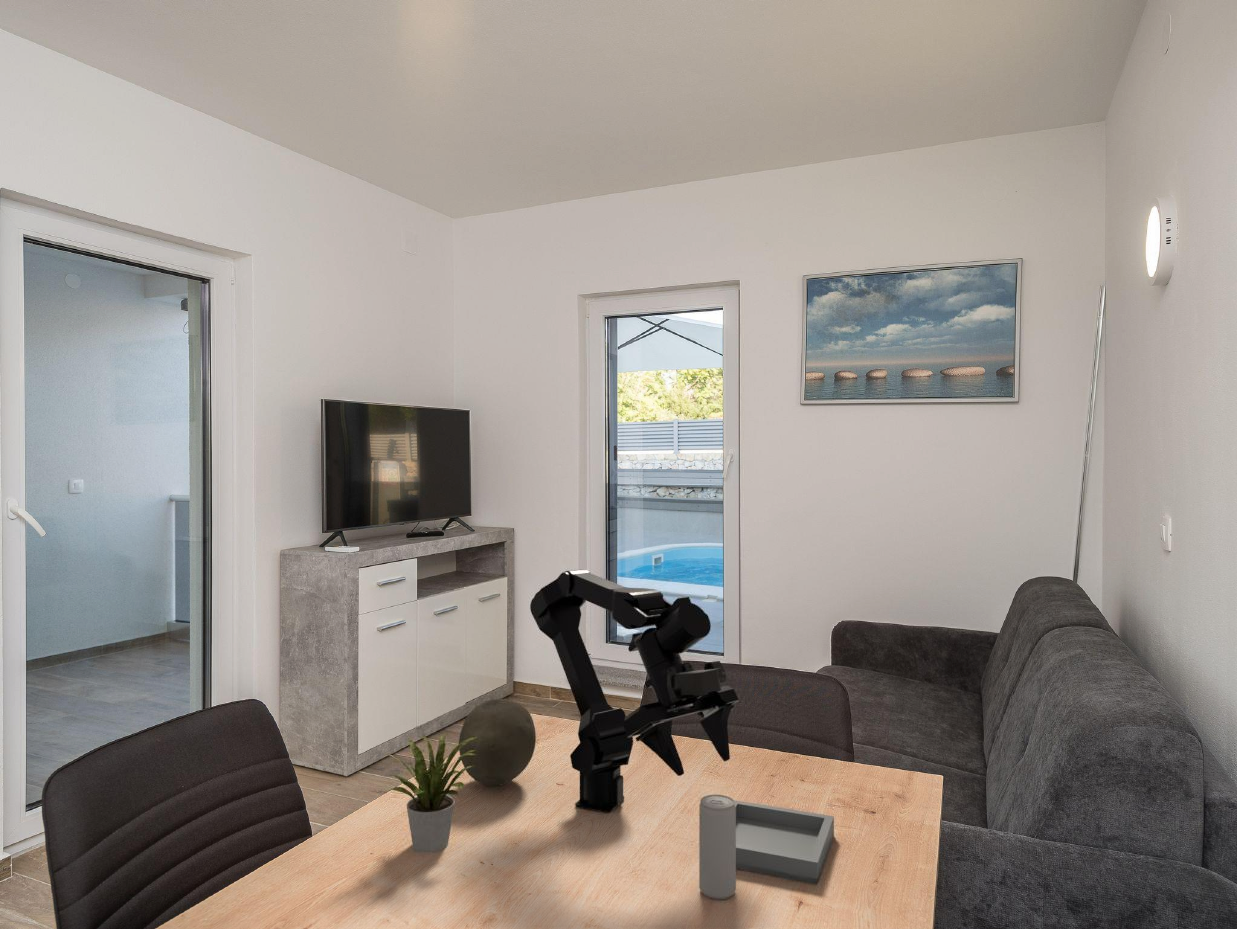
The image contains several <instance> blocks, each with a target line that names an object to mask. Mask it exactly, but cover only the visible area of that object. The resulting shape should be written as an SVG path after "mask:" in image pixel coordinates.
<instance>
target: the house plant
mask: <svg viewBox="0 0 1237 929" xmlns="http://www.w3.org/2000/svg"><path fill="white" fill-rule="evenodd" d="M421 735H422V736H421V737H422V739H423V740H424V742H425V743H426V746H427V750H428V758H429V765H428V768H427V763H426V760H425V756H424V751H425V749H424V748H423V749H422V750H421V749H420V747H418V746H417V745H416V743H415V742H414V741H413V740H412V739H409V738H407V740H408V742H409V743H408V744H409V746H410V748H411V749H410V750H411V751H412V754H413V757H414V766H412V765H410V763H409V764H408V765H409V766H408V765H407V764H406V763H405V762H404V761H403V760H402V759H400V758H398V757H396V756H394V755H392V754H390V753H385V755H387V756H389V757H392V758H394V759H395V760H397V761H398V762H400V763H401V764H402V765H403V766H404V767H405V768H406V769H407V771H408V772H409V773H410V774H411V776H412V777H413V779H414V780H415V781H416V783H417V784H418V787H417V785H415V784H414V783H412V781H410V780H408V779H407V778H404V777H403V776H400V775H396V774H394V775H393V776H394V777H395V779H398V780H399V781H400V782H401V783H402V784H403V785H404V786H406V787H407V788H409V790H408V789H407V788H405V787H402V786H396V787H393V788H391V789H390V791H394V792H395V791H396V792H400V793H403V794H405V795H407V796H409V797H410V798H411V799H410V800H409V801H408V802H407V803H406V806H405V807H406V812H407V817H408V824H409V825H408V826H409V831H410V837H411V843H412V844H411V845H412V848H413V850H414V851H416V852H419V853H424V854H426V853H436V852H439V851H442V850H444V849H445V848H447V847H448V845H449V840H450V834H451V828H452V822H453V817H454V816H453V815H454V812H455V810H454V809H455V803H456V801H455V798H454V797H452V796H450V795H455V796H457V797H460V795H459V793H458V791H457V790H455V789H451V788H452V787H453V788H454V787H456V788H459V789H461V791H464V786H465V784H464V783H463V782H462V781H458V782H456V781H457V779H459V777H460V776H461V775H462V774H463V775H465V773H464V772H466V769H468V768H470V767H472V766H468V767H466V768H462V769H461V770H456V768H457V766H458V765H459V764H460V763H461V762H462V759H463V758H464V757H465V756H466V755H477V754H473V753H470V752H473V751H475V750H471V751H468V752H466V753H464V754H463V755H461V756H460V755H459V756H458V757H457V759H456V761H455V762H453V763H452V764H451V762H452V761H453V759H454V757H455V756H456V754H457V753H458V752H459V750H460V749H461V748H462V747H463V746H464V745H465V744H466V743H467V742H468V741H470V740H472V739H475V738H477V737H473V738H469V739H466V740H464V741H463V742H461V743H460V744H459V743H458V744H457V745H456V747H455V748H454V749H453V750H451V752H450V754H449V755H448V756H446V757H444V755H445V753H446V751H449V750H448V749H446V740H445V739H446V738H445V737H446V735H445V733H444V732H443V733H442V734H441V736H440V737H439V742H438V745H437V751H436V755H434V750H433V746H432V744H431V743H430V740H428V738H427V737H426V735H424V734H423V733H422V732H421ZM446 759H447V760H446ZM445 760H446V762H445ZM450 764H451V765H450ZM449 765H450V766H449ZM453 775H454V777H453V778H452V779H451V777H452V776H453ZM450 779H451V781H450ZM449 781H450V782H449ZM448 782H449V784H448ZM447 784H448V785H447ZM410 790H411V792H410ZM412 792H413V793H412ZM413 794H414V795H413Z"/></svg>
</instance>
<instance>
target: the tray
mask: <svg viewBox="0 0 1237 929" xmlns="http://www.w3.org/2000/svg"><path fill="white" fill-rule="evenodd" d="M733 800H734V802H735V807H736V870H739V871H743V872H744V871H745V872H750V873H755V874H759V875H765V876H769V877H774V876H775V878H781V879H785V880H791V881H795V882H801V883H806V884H811V885H816V886H818V885H819V882H820V879H821V875H822V873H823V870H824V868H825V864H826V860H827V858H828V855H829V852H830V849H831V846H832V842H833V841H834V840H833V839H834V838H835V837H834V836H835V816H834V815H828V814H821V813H815V812H810V811H804V810H797V809H793V808H792V809H791V808H786V807H778V806H773V805H766V804H761V803H755V802H754V803H753V802H749V801H742V800H735V799H733Z"/></svg>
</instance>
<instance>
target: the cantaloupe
mask: <svg viewBox="0 0 1237 929" xmlns="http://www.w3.org/2000/svg"><path fill="white" fill-rule="evenodd" d="M536 735H537V734H536V726H535V722H534V719H533V717H532V715H531V713H530V712H529V710H528V709H527V708H526V707H525V706H524V705H522V704H521V703H520V702H517V701H513V700H511V699H505V698H494V699H493V698H492V699H489V700H486V701H484V702H482V703H480V704H478V705H476V706H475V707H474V708H473V709H471V711H470V712H469V713H468V715H467V716H466V718H465V719H464V722H463V725H462V727H461V731H460V734H459V738H458V745H459V744H460V743H461V742H463V741H464V740H466V739H469V738H473V737H477V738H475V739H472V740H470V741H468V742H467V743H466V744H465V745H464V746H463V747H462V748H461V749H460V750H459V751H458V752H459V757H460V756H461V755H463V754H464V753H466V752H468V751H471V750H475V751H473V752H470V753H473V754H477V755H466V756H465V757H464V758H463V759H462V760H461V762H462V765H463V767H464V768H466V767H468V766H472V767H470V768H468V769H466V770H465V772H466V774H468V775H469V776H470V777H471V778H472V779H473V780H475V782H477V783H478V784H480V785H483V786H486V787H499V786H503V785H506V784H508V783H509V782H511V781H513V780H514V779H516V778H517V777H518V776H520V775H521V773H523V772H524V770H526V768H527V767H528V765H529V763H530V762H531V760H532V758H533V756H534V752H535V748H536V741H537V740H536V739H537V737H536ZM464 768H463V769H464Z"/></svg>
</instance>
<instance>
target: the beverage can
mask: <svg viewBox="0 0 1237 929" xmlns="http://www.w3.org/2000/svg"><path fill="white" fill-rule="evenodd" d="M734 800H735V799H734V798H732V797H730V796H728V795H724V794H707V795H704V796H702V797H701V798H700V803H699V806H698V808H699V810H698V811H699V812H698V813H699V817H698V818H699V821H698V822H699V824H698V826H699V827H698V828H699V831H698V832H699V834H698V835H699V842H698V845H699V846H698V847H699V850H698V852H699V856H698V859H699V860H698V861H699V862H698V863H699V865H698V866H699V868H698V870H699V876H698V878H699V880H698V883H699V886H698V887H699V889H700V891H701V893H702V894H703V895H704V896H706V897H707V898H709V899H712V900H717V901H718V900H719V901H722V900H726V899H729V898H731V897H732V896H733V895H734V894H735V893H736V890H737V885H736V884H737V882H736V881H737V878H736V876H737V873H736V872H737V869H736V807H735V802H734Z"/></svg>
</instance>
